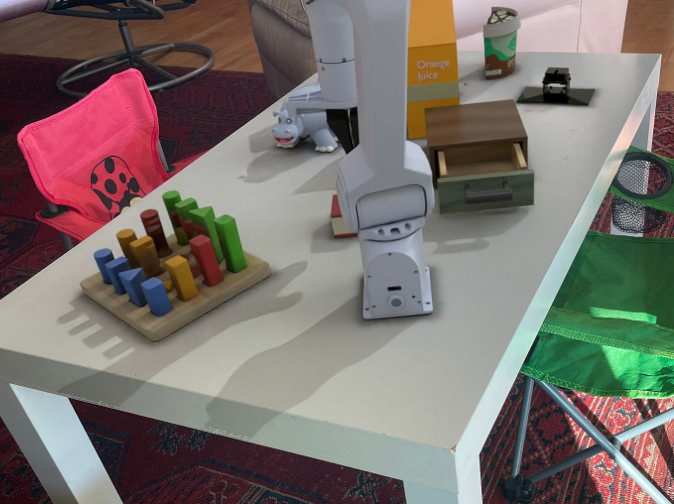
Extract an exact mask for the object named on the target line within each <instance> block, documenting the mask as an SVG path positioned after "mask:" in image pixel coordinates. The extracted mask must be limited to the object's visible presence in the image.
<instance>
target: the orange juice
mask: <svg viewBox="0 0 674 504" xmlns="http://www.w3.org/2000/svg"><path fill="white" fill-rule="evenodd" d="M456 37H457V36H456V26H455V14H454V2H453V0H411V5H410V16H409V27H408V55H407V117H406V126H407V133H408V134H407V135H408V139H409V140H411V139H413V140H414V139H422V138H427V134H426V123H425V111H424V108H432V107H442V106H451V105H461V103H460V102H461V101H460V97H461V96H460V94H461V93H460V80H459V64H458V44H457V38H456Z"/></svg>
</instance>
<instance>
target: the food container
mask: <svg viewBox="0 0 674 504" xmlns="http://www.w3.org/2000/svg"><path fill="white" fill-rule="evenodd" d="M490 9H491V11H490V12H491V13H490V16H489V17H488V19H487V22H486V24H483V25H482V38H483V48H484V49H483V50H484V51H483V52H484V71H485V74H484V75H485V81H486V80H496V79H497V80H498V79H501V78H506V77H508V76H510V75H512V74H513V73H515V70H516V55H517V40H518V38H517V37H518V30H519V29H521V27H522V23H521V17H520V15H519V12H518V11H517V10H516V9H514V8H510V7H506V6H491V7H490Z"/></svg>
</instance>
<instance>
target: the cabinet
mask: <svg viewBox="0 0 674 504" xmlns="http://www.w3.org/2000/svg"><path fill="white" fill-rule="evenodd" d="M424 111H425V123H426V134H427V137H426V144H427V154H428V162H429V165H430V168H431V171H432V184H433V189H436V188H437V189H438V185H437V179H439V178H440V176H439V169H438V156H437V150H442V149H452V148H462V147H472V146H481V145H491V144H501V143H511V142H519V145H520V148H521V151H522V154H523V157H524V160H525V162H526V165H527V170H528V167H529V166H528V164H529V163H528V161H529V160H528V159H529V154H528V153H529V136H528V133H527V131H526V128H525V125H524V123H523V120H522V118H521V114H520V111H519V109H518V107H517V104H516V102H515V99H514V98H509V99H499V100H490V101H481V102H472V103H463V104H462V103H460V105H451V106H442V107H432V108H424Z"/></svg>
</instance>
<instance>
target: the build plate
mask: <svg viewBox="0 0 674 504" xmlns="http://www.w3.org/2000/svg"><path fill="white" fill-rule="evenodd" d="M571 81H572V77H571V73H570V67H557V66H556V67H555V66H554V67H553V66H548V67H547V69H545V72H544V76H543V77H542V81H541V84H542V86H525V88H524V89H523V91H522V92H521V94H520V95H519V97H518V98H517V100H516V103H517V104H534V105H559V106H581V107H588V106H589V105H590V103H591V101H592V99H593V97H594V94H595V92H596V89H595V88H584V87H583V88H582V87H581V88H580V87H571ZM552 84H553V85H560V86H553V85H552Z"/></svg>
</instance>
